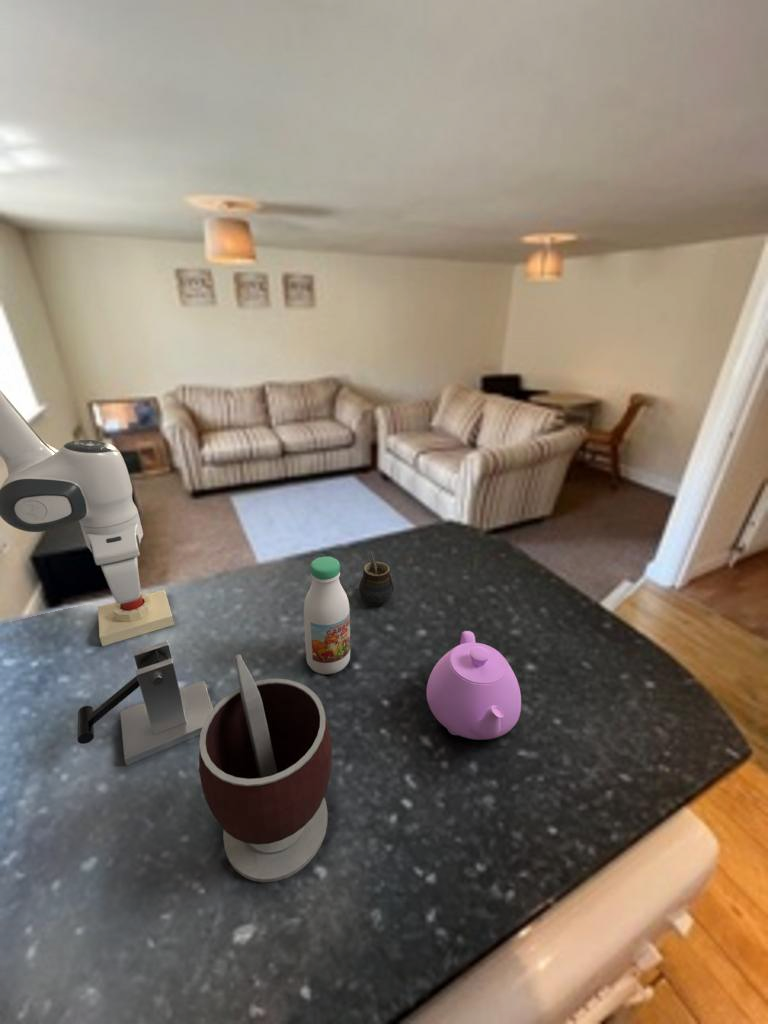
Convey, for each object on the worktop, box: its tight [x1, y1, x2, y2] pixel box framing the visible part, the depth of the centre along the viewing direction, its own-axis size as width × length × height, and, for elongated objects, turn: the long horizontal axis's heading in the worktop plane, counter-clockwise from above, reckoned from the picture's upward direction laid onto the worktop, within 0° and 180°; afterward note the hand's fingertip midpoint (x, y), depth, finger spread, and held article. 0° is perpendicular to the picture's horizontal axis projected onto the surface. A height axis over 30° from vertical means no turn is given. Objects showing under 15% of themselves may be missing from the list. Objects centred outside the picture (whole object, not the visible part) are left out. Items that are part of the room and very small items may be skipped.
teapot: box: [426, 630, 522, 741], centre depth 66 cm, size 20×14×12 cm
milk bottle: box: [303, 556, 351, 675], centre depth 75 cm, size 8×8×20 cm
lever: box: [77, 651, 168, 745], centre depth 61 cm, size 13×5×2 cm, turn 121°
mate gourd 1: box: [198, 654, 333, 883], centre depth 51 cm, size 16×14×20 cm
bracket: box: [119, 640, 214, 766], centre depth 64 cm, size 12×9×13 cm
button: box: [121, 595, 143, 611], centre depth 85 cm, size 4×4×2 cm
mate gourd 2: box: [358, 550, 395, 607], centre depth 93 cm, size 7×8×10 cm
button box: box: [97, 589, 175, 647], centre depth 86 cm, size 12×10×4 cm
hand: (131, 595), depth 85 cm, fingers closed
